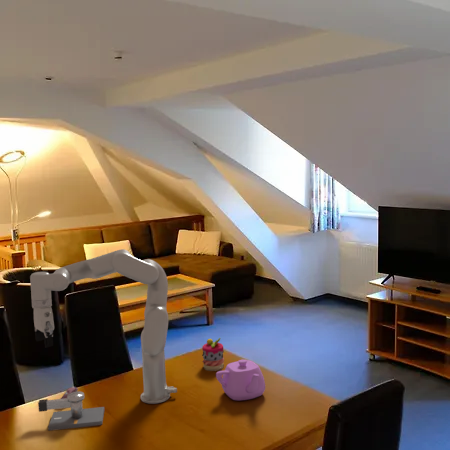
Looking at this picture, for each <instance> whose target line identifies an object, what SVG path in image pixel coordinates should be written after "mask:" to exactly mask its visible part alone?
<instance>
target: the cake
mask: <svg viewBox="0 0 450 450" xmlns="http://www.w3.org/2000/svg"><path fill="white" fill-rule="evenodd" d="M220 341H221V337H219V338H218V339H216V340H215V341H214V340H213V339H212V338H208V339H207V340H206V343H205V344H203V345H202V358H203V361H201V362H202V363H203V369H204V371H208V372H216V371H217V372H219V371H222V370H223V368H224V362H225V358H224V353H225V352H224V345H223V344H222V343H220Z"/></svg>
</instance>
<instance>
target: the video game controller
mask: <svg viewBox="0 0 450 450" xmlns="http://www.w3.org/2000/svg"><path fill="white" fill-rule="evenodd" d="M78 390H79V388H77V387H76V386H72V387H69V388H67V390H66V391H65V392H64V394H63V395H62V397H60V398H59V399H65V398H67V396H68V394H70V393H72V392H78Z"/></svg>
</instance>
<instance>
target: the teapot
mask: <svg viewBox="0 0 450 450" xmlns="http://www.w3.org/2000/svg"><path fill="white" fill-rule="evenodd" d="M262 372H263V371H262V370H261V368H260V366H259V365H258V364H257V363H255V362H254V361H253V360H249V359H245V358H244V359H238V361H233V362H230V363H228V364H227V365H226V367H225V368H224V370H218V371H217V372H216V373H215V378H216V379H217V381H218V382H219V384H220V385H221V387H222V389H223V391H224V393H225V395H226V396H227V397H229V398H230V399H231V400H233V401H247V400H253V399H256V398H258V397H260V396H263V394H264V392H265V391H266V383H265V382H266V381H265V378H264V375H263V373H262Z"/></svg>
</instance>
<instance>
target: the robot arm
mask: <svg viewBox="0 0 450 450" xmlns="http://www.w3.org/2000/svg"><path fill="white" fill-rule="evenodd" d="M116 273H117V274H120V275H121V276H123V277H126V278H128V279H132V281H133V280H134V281H135V282H138V283H141V284H144V285H147V291H146V302H145V308H144V313H143V315H144V316H143V317H144V325H143V326H144V327H143V329H142V331H141V334H140V346H141V358H142V364H141V365H142V378H143V379H142V380H143V392H142V393H141V394H140V400H141V402H143V403H145V404H152V405H154V404H160V403H163V402H166V401H168V400H169V399H170V398H171V394H172V393H175V394H176V393H178V388H177V387H174V386H169V385H167V378H166V377H167V376H166V358H165V357H166V355H165V354H166V353H165V347H166V344H167V336H168V328H169V314H168V311H167V301H168V293H169V292H168V290H169V289H168V288H169V284H168V276H167V274H166V272H165V269H164V268H163V267H162V266H161V265H160V263H158V262H157V261H155V260H153V259H150V258H147V259H143V260H141V259H140V258H139V259H138V258H137V257H135V256H133V255H132V254H131V252H130V251H129V250H127V249H117V250H115V251H111V252H108V253H105V254H102V255H100V256H99V255H98V256H96V257H93V258H89V259H85V260H81V261H78V262H74V263H72V264H68V265H65V266H62V267H60V268H57V269H56V270H55V271H54V272H53V273H49V272H48V271H36V272H33V273H31V275H30V276H29V279H30V291H31V292H30V294H31V296H30V297H31V307H32V309H33V323H34V332H35V333H34V335H35V341H36V342H42V341H44V348H45V349H46V348H50V347H53V346H54V330H55V322H54V313H53V309H52V306H53V304H52V301H53V300H52V291H54V292H60V291H64V290H65V289H67V288H68V286H69V285H70V284H71V283H74V282H77V281H80V280H85V279H95V280H97V279H101V278H103V277H106V276H109V275H112V274H116Z"/></svg>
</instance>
